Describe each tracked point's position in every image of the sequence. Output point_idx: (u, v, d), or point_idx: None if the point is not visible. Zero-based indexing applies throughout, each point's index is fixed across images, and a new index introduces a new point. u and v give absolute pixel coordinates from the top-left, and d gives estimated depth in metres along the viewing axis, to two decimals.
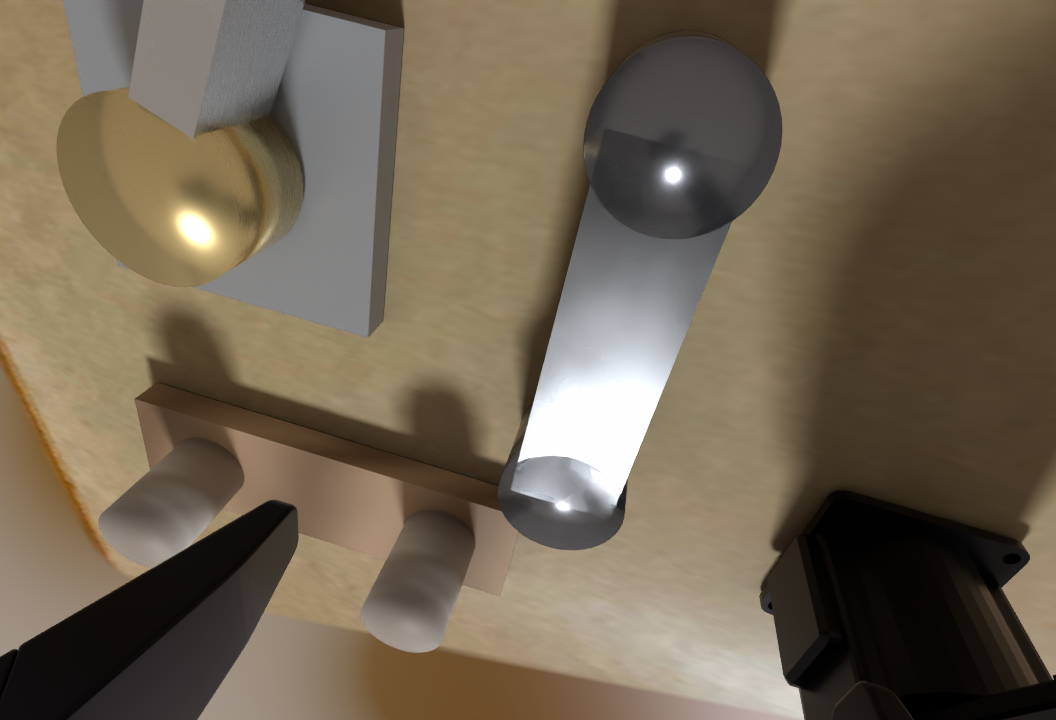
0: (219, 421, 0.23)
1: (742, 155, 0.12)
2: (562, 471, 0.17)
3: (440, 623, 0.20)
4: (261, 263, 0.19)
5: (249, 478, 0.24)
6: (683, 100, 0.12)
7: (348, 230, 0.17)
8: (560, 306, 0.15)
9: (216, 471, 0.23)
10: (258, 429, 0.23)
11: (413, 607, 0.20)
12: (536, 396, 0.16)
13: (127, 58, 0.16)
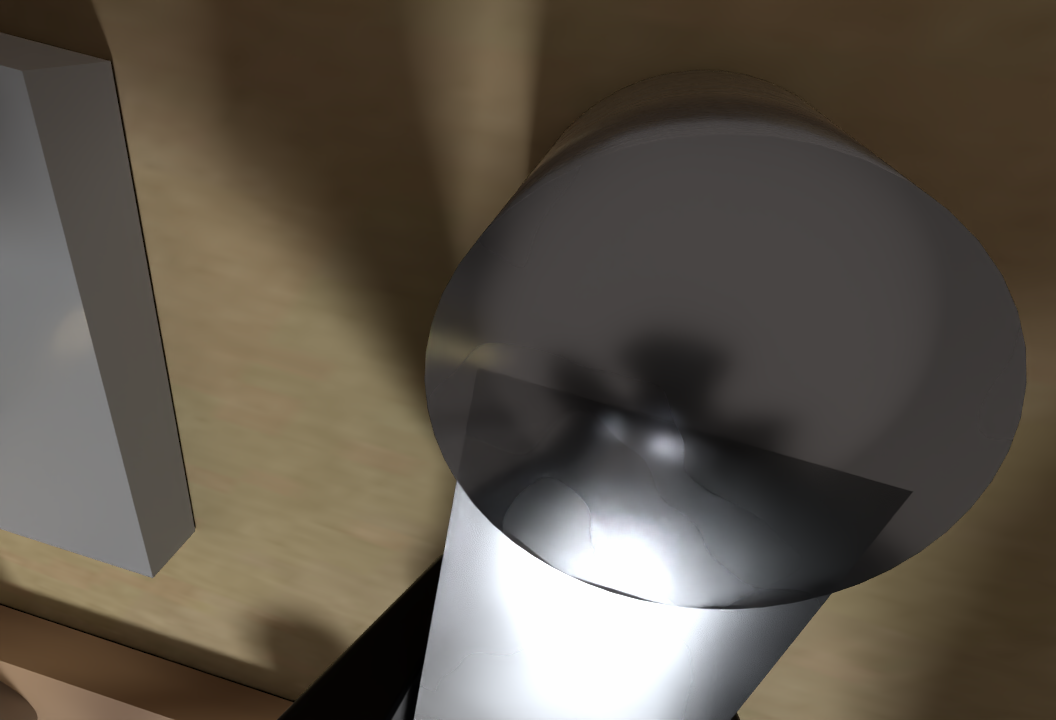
0: None
1: (879, 463, 0.04)
2: None
3: None
4: None
5: (43, 714, 0.16)
6: (706, 317, 0.04)
7: (72, 428, 0.09)
8: (426, 674, 0.07)
9: None
10: (41, 656, 0.15)
11: None
12: None
13: None
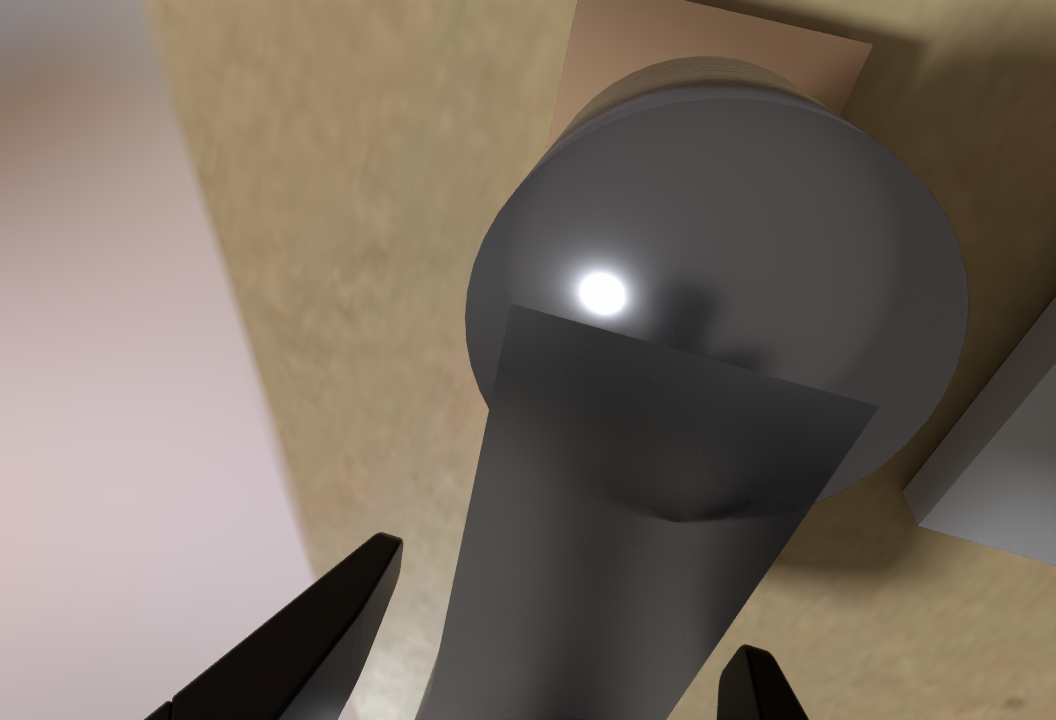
0: None
1: (851, 381, 0.05)
2: None
3: None
4: None
5: None
6: (704, 254, 0.05)
7: None
8: (454, 598, 0.07)
9: None
10: None
11: None
12: (429, 709, 0.09)
13: None
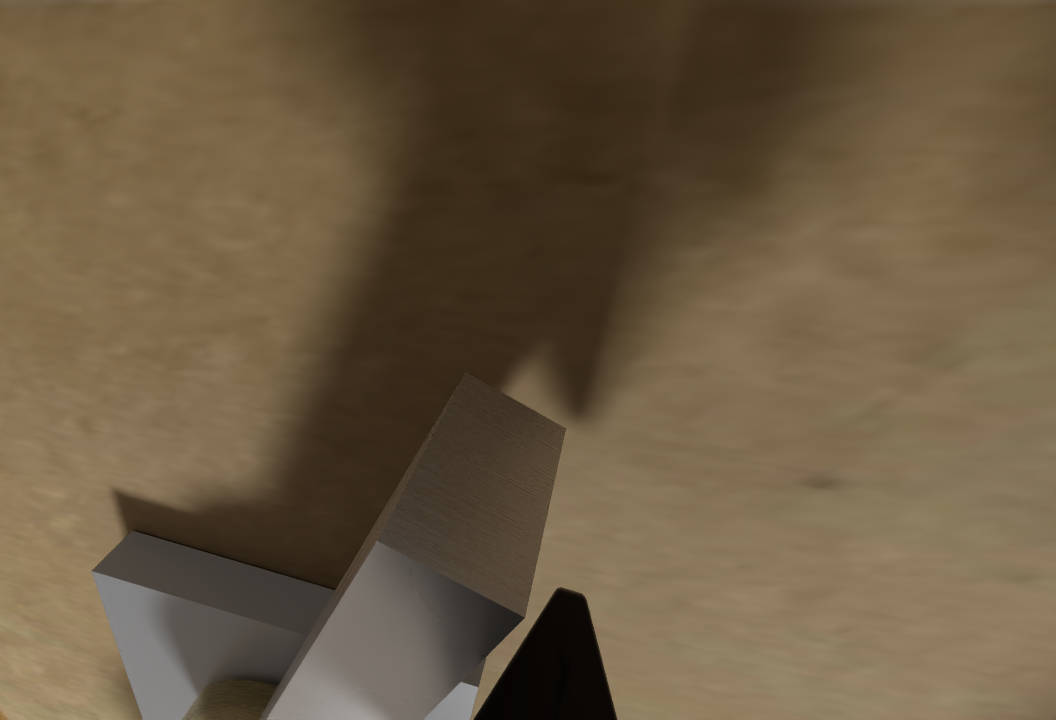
0: None
1: None
2: None
3: None
4: None
5: None
6: None
7: None
8: None
9: None
10: None
11: None
12: None
13: (174, 649, 0.14)
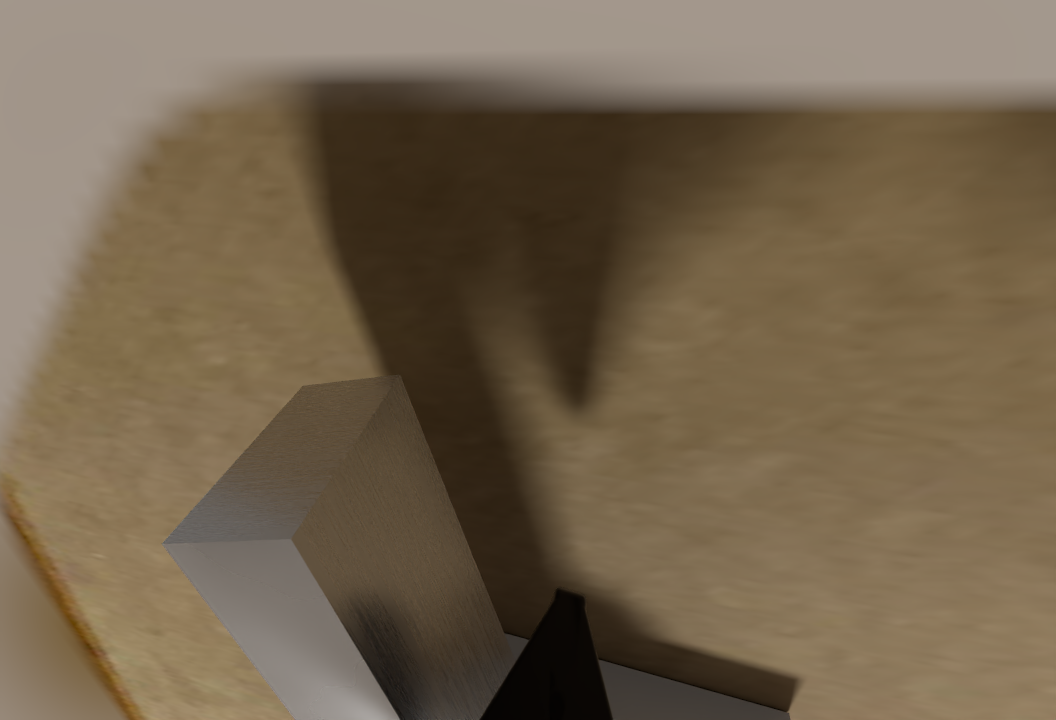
0: None
1: None
2: None
3: None
4: None
5: None
6: None
7: None
8: None
9: None
10: None
11: None
12: None
13: None
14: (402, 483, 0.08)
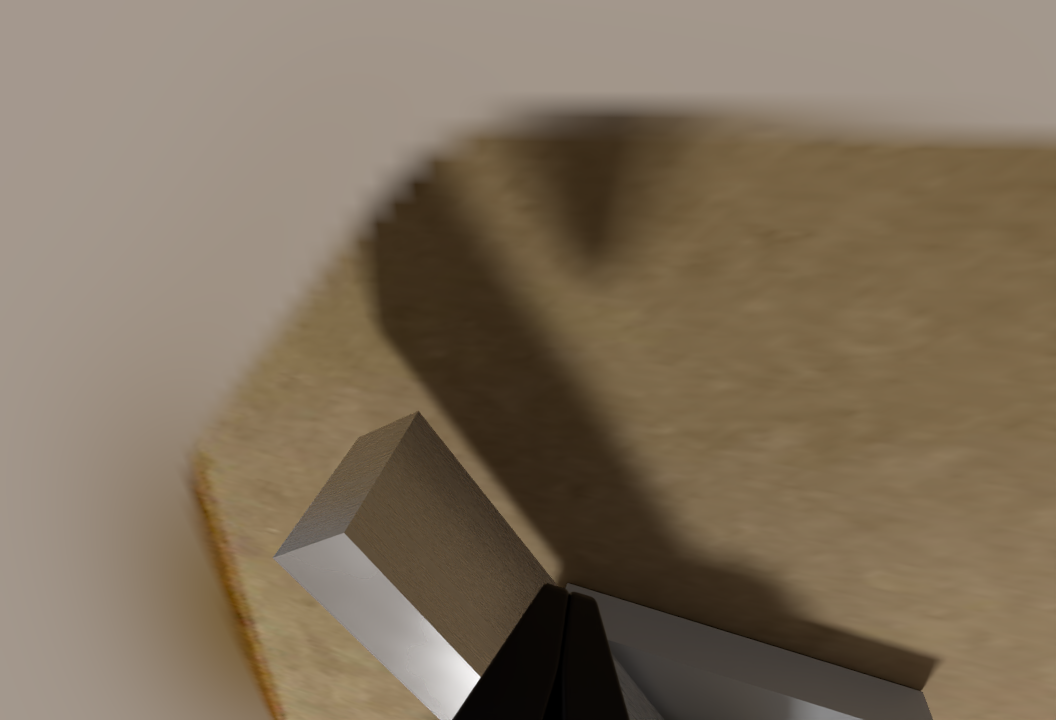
0: None
1: None
2: None
3: None
4: None
5: None
6: None
7: None
8: None
9: None
10: None
11: None
12: None
13: None
14: (436, 490, 0.10)
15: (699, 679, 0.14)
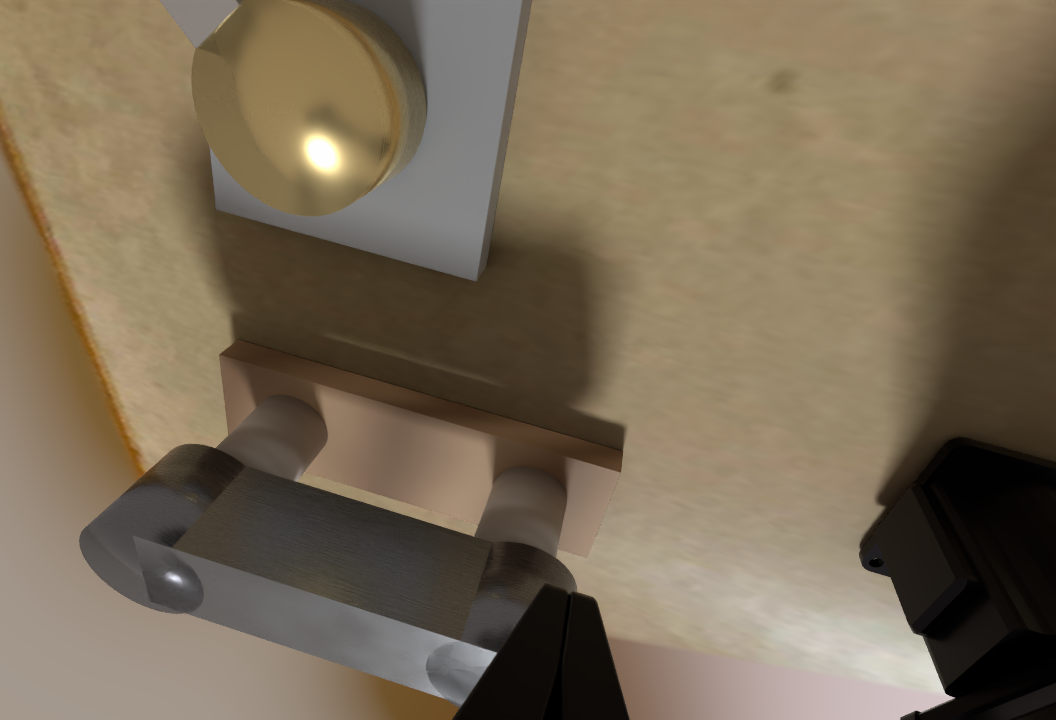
0: (306, 377, 0.23)
1: (129, 541, 0.17)
2: (445, 674, 0.17)
3: None
4: (370, 203, 0.18)
5: (333, 437, 0.24)
6: (116, 565, 0.18)
7: (467, 164, 0.17)
8: (278, 642, 0.18)
9: (304, 427, 0.22)
10: (346, 385, 0.23)
11: None
12: (367, 671, 0.18)
13: None
14: None
15: None
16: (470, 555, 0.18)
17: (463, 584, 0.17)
